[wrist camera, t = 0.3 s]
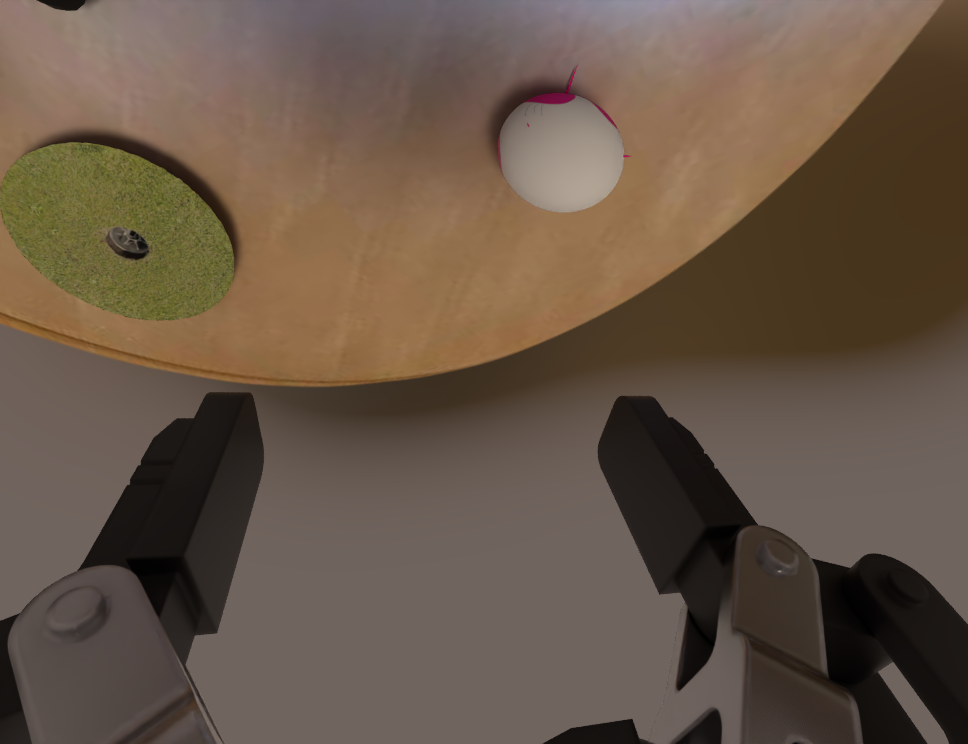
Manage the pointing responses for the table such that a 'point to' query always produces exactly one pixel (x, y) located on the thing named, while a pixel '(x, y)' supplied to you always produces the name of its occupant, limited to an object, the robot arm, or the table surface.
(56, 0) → the light switch
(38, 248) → the mat
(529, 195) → the stress ball
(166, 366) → the table surface
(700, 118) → the table surface
